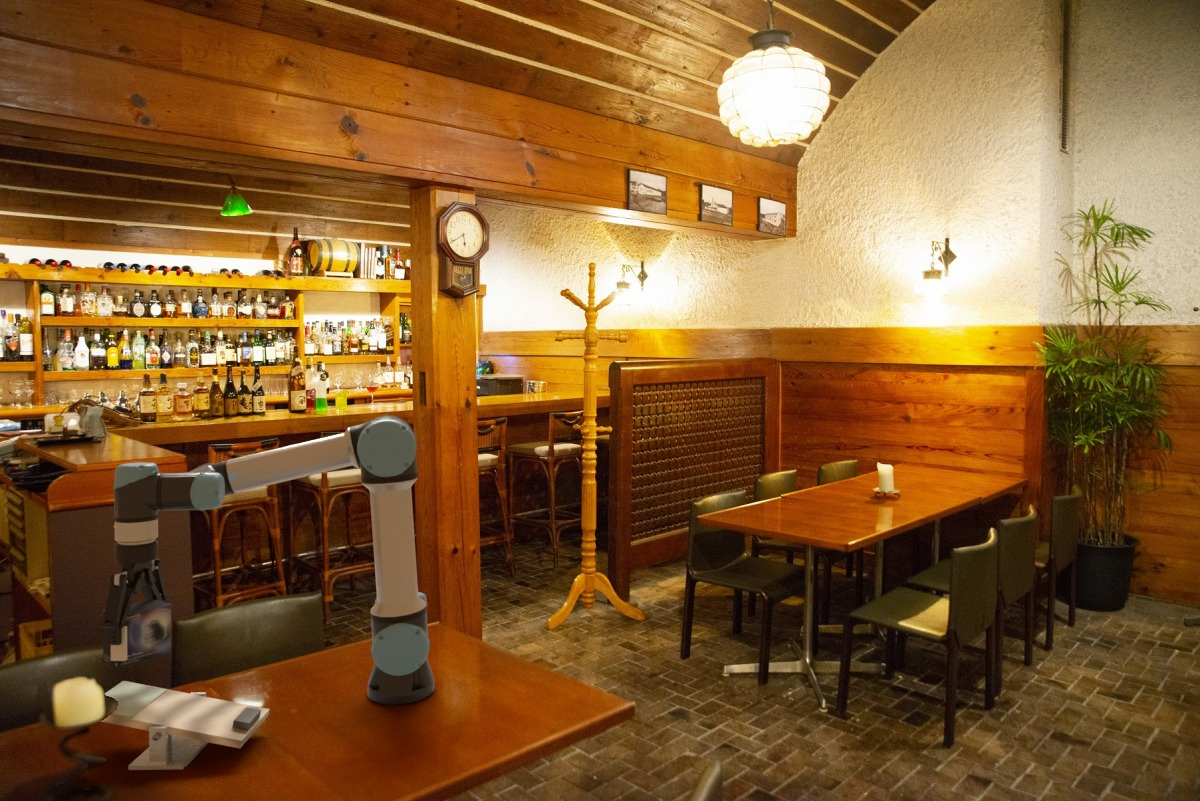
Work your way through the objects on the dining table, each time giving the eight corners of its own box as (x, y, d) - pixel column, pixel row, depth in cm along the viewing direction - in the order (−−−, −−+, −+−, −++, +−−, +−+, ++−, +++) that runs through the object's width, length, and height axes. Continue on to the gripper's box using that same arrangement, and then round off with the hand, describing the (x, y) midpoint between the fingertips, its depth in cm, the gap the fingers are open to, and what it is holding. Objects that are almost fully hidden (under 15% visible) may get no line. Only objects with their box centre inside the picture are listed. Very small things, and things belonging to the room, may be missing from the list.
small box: (118, 670, 152) (118, 616, 152) (101, 663, 155) (100, 610, 155) (173, 654, 161) (172, 602, 160) (155, 647, 164) (155, 597, 164)
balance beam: (268, 716, 164) (271, 702, 164) (240, 748, 150) (243, 733, 150) (122, 687, 163) (125, 673, 163) (80, 717, 149) (83, 702, 149)
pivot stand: (224, 726, 166) (224, 690, 165) (183, 769, 148) (182, 729, 147) (176, 726, 165) (175, 691, 165) (128, 770, 147) (127, 730, 147)
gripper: (150, 528, 169) (150, 629, 170) (79, 554, 145) (80, 671, 146) (185, 529, 169) (186, 629, 170) (120, 554, 145) (121, 671, 146)
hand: (137, 649), depth 158 cm, fingers closed on small box, 12 cm apart
